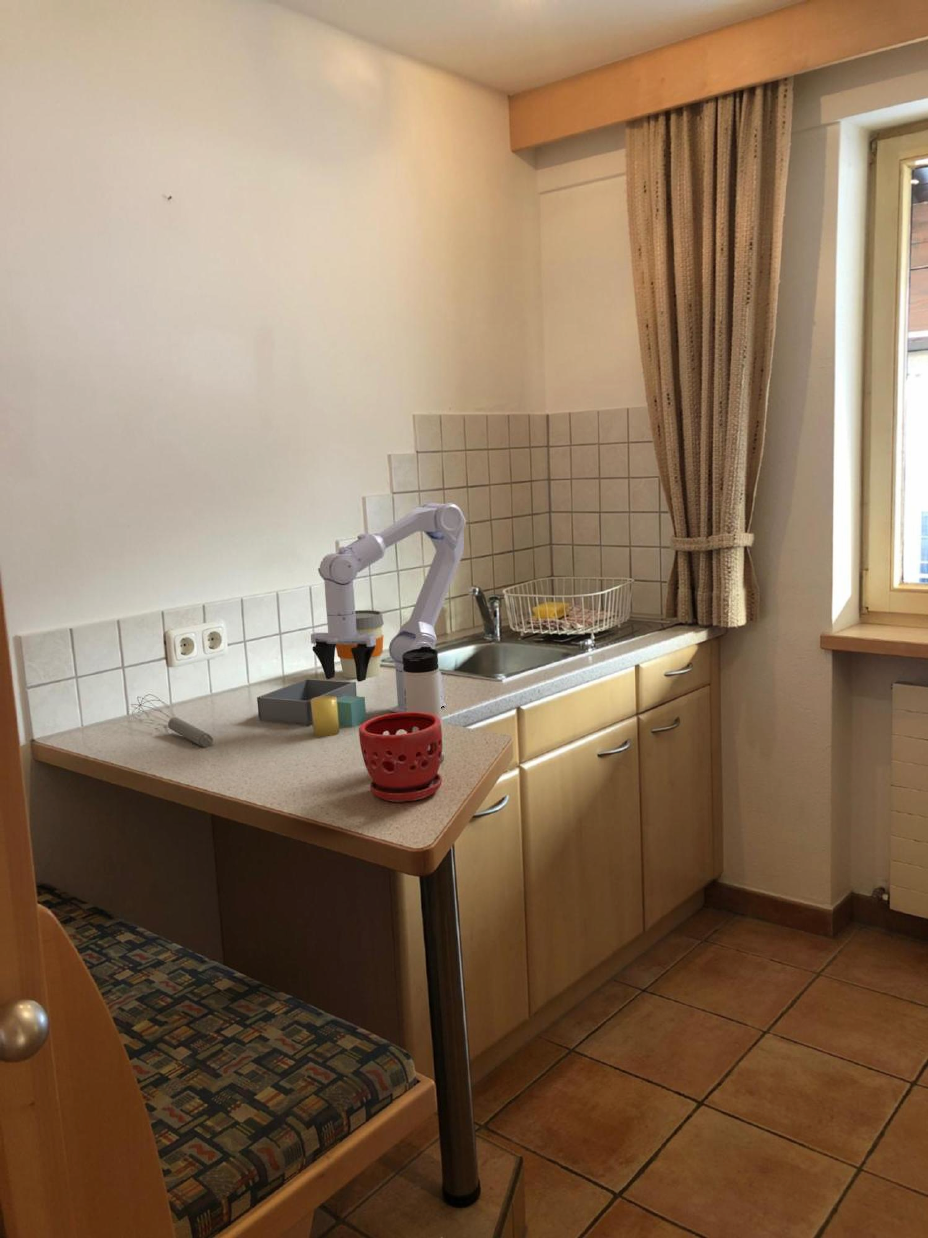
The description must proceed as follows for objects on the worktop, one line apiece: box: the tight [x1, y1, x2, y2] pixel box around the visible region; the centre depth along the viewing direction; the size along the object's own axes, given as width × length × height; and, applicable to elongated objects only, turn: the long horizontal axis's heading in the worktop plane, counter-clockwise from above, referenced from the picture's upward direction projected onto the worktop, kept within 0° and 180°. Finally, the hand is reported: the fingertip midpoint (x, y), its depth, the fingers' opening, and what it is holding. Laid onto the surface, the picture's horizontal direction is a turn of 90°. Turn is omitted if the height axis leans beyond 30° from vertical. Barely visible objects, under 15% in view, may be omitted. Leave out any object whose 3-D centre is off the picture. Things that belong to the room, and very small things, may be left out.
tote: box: [256, 678, 357, 726], centre depth 217 cm, size 17×13×5 cm
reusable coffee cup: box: [335, 609, 384, 680], centre depth 250 cm, size 13×13×15 cm
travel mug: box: [402, 647, 445, 763], centre depth 179 cm, size 6×7×20 cm
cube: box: [337, 695, 367, 728], centre depth 208 cm, size 5×5×5 cm
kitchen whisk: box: [131, 694, 215, 749], centre depth 207 cm, size 6×34×6 cm, turn 41°
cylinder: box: [311, 696, 340, 738], centre depth 201 cm, size 5×5×7 cm
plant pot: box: [358, 712, 443, 803], centre depth 163 cm, size 13×13×12 cm
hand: (345, 679), depth 207 cm, fingers open, 7 cm apart
